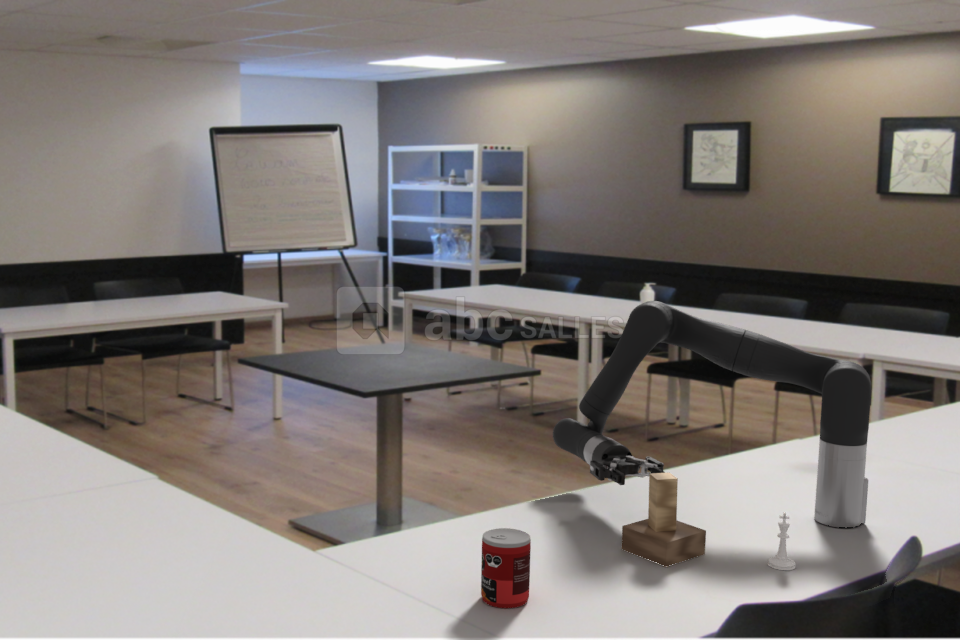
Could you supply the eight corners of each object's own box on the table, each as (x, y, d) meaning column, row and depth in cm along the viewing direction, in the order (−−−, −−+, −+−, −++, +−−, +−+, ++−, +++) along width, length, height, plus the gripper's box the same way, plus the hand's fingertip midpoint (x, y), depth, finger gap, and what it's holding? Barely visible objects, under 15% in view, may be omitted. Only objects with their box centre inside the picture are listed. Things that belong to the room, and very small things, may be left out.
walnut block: (659, 539, 195) (661, 514, 194) (704, 556, 187) (706, 530, 186) (621, 551, 188) (622, 525, 188) (666, 569, 180) (667, 542, 179)
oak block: (667, 523, 189) (669, 472, 188) (676, 530, 185) (677, 478, 184) (648, 524, 189) (649, 473, 187) (655, 531, 185) (657, 479, 183)
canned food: (478, 590, 168) (480, 528, 166) (525, 589, 168) (527, 527, 167) (482, 609, 160) (484, 544, 159) (532, 609, 161) (533, 543, 159)
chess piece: (797, 571, 179) (800, 518, 177) (768, 569, 180) (771, 515, 178) (793, 561, 184) (797, 509, 182) (766, 559, 185) (769, 507, 183)
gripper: (576, 441, 206) (610, 462, 191) (638, 437, 211) (676, 457, 196) (575, 476, 208) (609, 500, 192) (636, 471, 212) (674, 494, 197)
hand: (643, 478), depth 194 cm, fingers open, 8 cm apart
